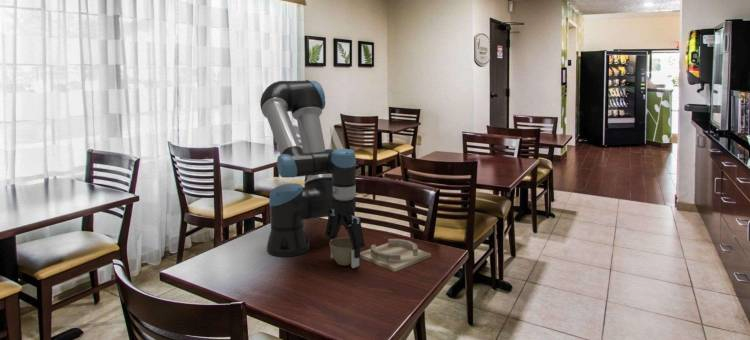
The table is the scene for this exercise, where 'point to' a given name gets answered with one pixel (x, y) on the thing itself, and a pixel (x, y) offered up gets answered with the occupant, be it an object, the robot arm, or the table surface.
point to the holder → (395, 254)
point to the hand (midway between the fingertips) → (344, 261)
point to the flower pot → (341, 250)
